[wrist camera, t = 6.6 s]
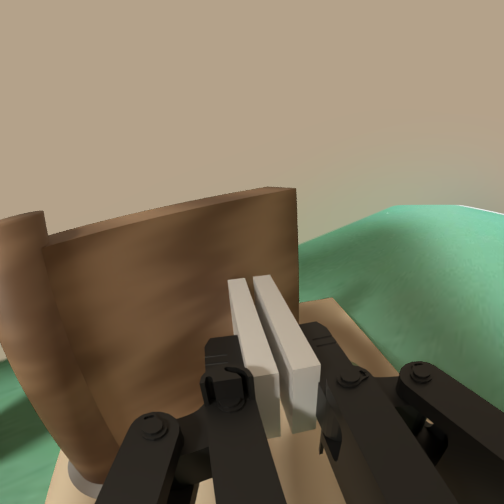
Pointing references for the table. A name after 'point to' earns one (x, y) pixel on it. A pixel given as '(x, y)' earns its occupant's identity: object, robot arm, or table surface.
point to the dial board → (282, 448)
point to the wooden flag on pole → (133, 309)
